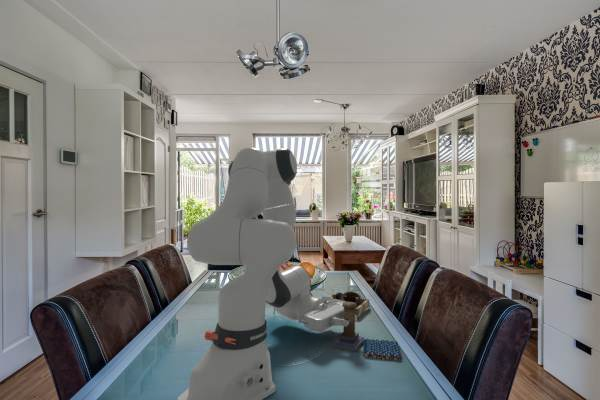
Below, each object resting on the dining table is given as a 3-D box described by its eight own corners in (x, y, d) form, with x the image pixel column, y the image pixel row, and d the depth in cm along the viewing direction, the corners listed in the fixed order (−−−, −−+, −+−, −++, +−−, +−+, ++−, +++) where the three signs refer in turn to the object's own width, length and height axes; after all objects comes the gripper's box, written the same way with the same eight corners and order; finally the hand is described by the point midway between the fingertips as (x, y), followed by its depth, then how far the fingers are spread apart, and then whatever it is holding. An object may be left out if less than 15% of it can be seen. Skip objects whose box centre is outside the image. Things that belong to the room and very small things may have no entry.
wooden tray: (357, 318, 125) (357, 309, 125) (318, 311, 132) (318, 302, 132) (369, 308, 137) (369, 299, 137) (332, 302, 145) (332, 293, 145)
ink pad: (355, 352, 97) (355, 347, 97) (332, 346, 101) (332, 342, 101) (365, 340, 105) (365, 336, 105) (343, 336, 109) (343, 332, 109)
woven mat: (402, 363, 92) (402, 355, 92) (363, 359, 94) (363, 352, 94) (399, 346, 102) (399, 340, 102) (363, 343, 104) (363, 337, 104)
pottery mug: (366, 309, 137) (366, 294, 133) (354, 325, 131) (355, 310, 127) (340, 297, 144) (340, 282, 139) (328, 311, 137) (328, 297, 133)
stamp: (353, 343, 100) (354, 307, 100) (339, 340, 102) (339, 304, 102) (358, 338, 104) (359, 303, 104) (344, 335, 106) (345, 300, 106)
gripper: (294, 309, 103) (333, 320, 94) (332, 295, 119) (367, 302, 110) (294, 330, 103) (333, 342, 95) (331, 312, 119) (367, 322, 110)
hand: (352, 321), depth 103 cm, fingers closed on stamp, 3 cm apart
